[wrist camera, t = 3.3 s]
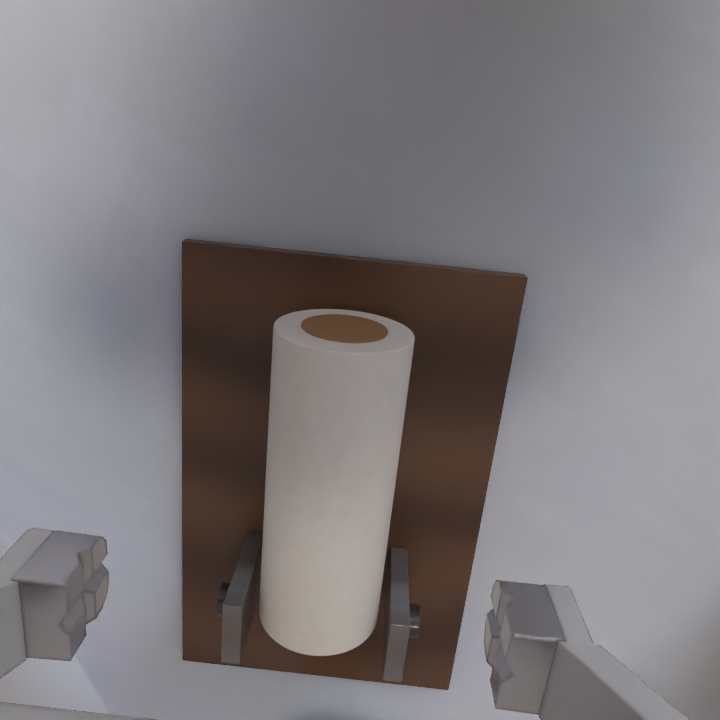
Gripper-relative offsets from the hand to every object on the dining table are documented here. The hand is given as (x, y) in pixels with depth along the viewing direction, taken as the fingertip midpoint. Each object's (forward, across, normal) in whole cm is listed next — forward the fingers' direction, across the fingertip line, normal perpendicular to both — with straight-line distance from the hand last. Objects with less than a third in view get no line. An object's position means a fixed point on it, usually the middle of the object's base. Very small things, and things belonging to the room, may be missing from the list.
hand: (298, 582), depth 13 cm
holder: (+15, 0, +7) cm, 17 cm away
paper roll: (+11, 0, +11) cm, 16 cm away
